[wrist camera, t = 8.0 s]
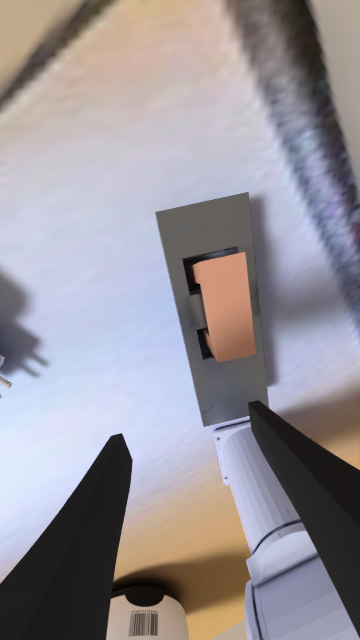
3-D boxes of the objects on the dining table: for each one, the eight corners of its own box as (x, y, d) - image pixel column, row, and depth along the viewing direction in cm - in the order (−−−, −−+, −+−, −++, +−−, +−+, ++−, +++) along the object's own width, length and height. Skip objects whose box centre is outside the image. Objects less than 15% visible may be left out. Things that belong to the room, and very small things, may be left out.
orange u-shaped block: (229, 331, 18) (255, 353, 13) (202, 337, 18) (218, 362, 13) (219, 259, 16) (245, 251, 11) (189, 266, 16) (200, 261, 11)
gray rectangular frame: (254, 391, 20) (269, 410, 18) (198, 405, 20) (203, 426, 17) (232, 208, 15) (248, 192, 12) (157, 224, 15) (155, 212, 12)
